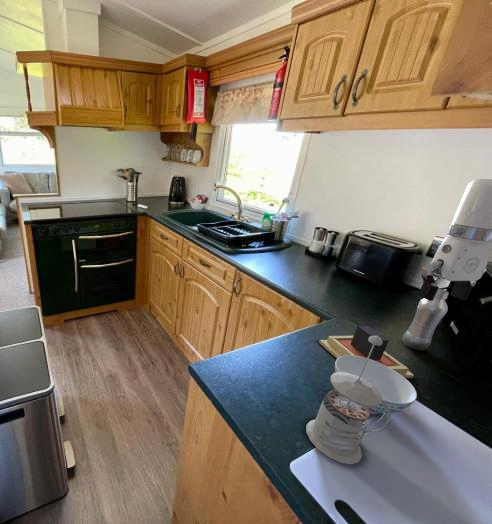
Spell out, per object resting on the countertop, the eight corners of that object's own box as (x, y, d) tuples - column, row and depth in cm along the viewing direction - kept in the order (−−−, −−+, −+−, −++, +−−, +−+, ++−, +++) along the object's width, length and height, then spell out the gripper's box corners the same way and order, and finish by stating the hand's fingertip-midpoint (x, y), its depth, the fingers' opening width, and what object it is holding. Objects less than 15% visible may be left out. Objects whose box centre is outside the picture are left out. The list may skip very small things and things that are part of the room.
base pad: (363, 341, 93) (366, 334, 92) (412, 378, 78) (417, 369, 77) (318, 342, 91) (321, 335, 90) (360, 379, 76) (364, 371, 75)
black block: (359, 344, 90) (368, 322, 87) (392, 368, 79) (403, 344, 77) (336, 344, 89) (345, 322, 86) (366, 369, 78) (377, 345, 76)
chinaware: (325, 371, 78) (334, 347, 75) (395, 395, 71) (407, 370, 69) (326, 409, 66) (337, 383, 63) (410, 443, 59) (426, 415, 56)
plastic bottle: (395, 342, 93) (421, 287, 86) (407, 339, 96) (432, 284, 89) (419, 355, 88) (448, 297, 81) (431, 350, 91) (460, 294, 84)
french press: (301, 413, 64) (336, 316, 55) (360, 429, 61) (407, 330, 52) (312, 454, 55) (355, 346, 46) (382, 475, 52) (442, 364, 44)
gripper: (457, 237, 63) (427, 305, 69) (521, 238, 66) (487, 304, 72) (422, 229, 70) (398, 292, 76) (481, 230, 73) (453, 291, 79)
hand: (441, 298), depth 74 cm, fingers open, 9 cm apart
